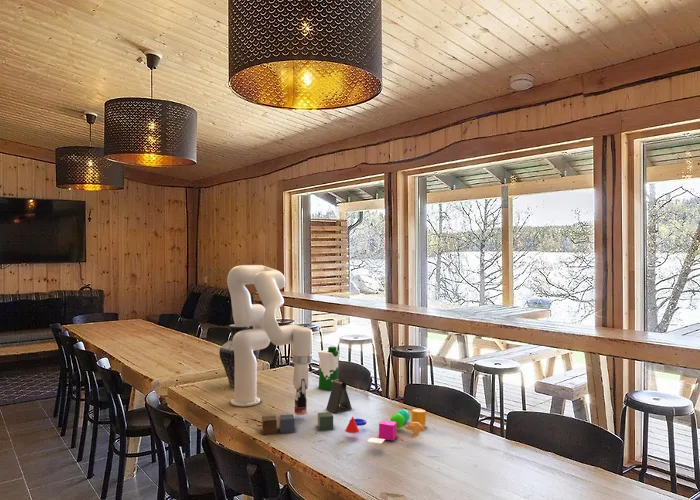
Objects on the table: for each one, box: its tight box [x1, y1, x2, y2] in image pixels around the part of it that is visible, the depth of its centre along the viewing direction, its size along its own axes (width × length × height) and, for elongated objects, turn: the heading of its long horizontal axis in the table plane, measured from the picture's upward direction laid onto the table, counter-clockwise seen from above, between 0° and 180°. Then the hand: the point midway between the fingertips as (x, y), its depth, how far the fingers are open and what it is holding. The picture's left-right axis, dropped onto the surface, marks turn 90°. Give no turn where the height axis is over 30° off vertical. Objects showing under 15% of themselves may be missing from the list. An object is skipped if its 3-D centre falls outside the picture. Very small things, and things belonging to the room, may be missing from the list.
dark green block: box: [317, 411, 334, 431], centre depth 190 cm, size 5×5×5 cm
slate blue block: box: [279, 413, 296, 434], centre depth 187 cm, size 5×5×5 cm
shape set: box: [344, 408, 427, 444], centre depth 183 cm, size 29×35×7 cm
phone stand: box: [325, 379, 353, 414], centre depth 212 cm, size 9×6×12 cm, turn 127°
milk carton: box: [317, 346, 341, 392], centre depth 245 cm, size 9×9×20 cm
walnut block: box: [261, 415, 278, 436], centre depth 185 cm, size 5×5×5 cm
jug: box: [218, 323, 261, 388], centre depth 249 cm, size 21×19×30 cm
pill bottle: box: [294, 391, 308, 416], centre depth 200 cm, size 5×5×8 cm
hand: (300, 404), depth 200 cm, fingers closed on pill bottle, 4 cm apart
